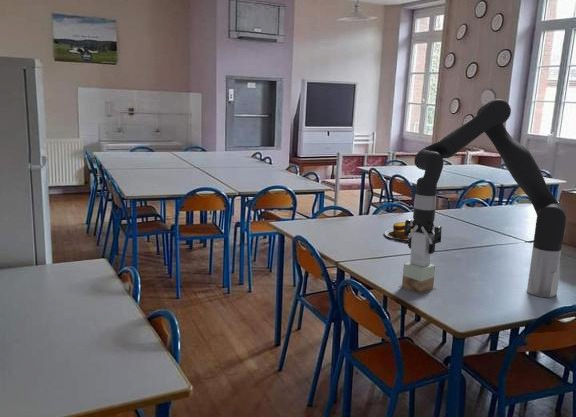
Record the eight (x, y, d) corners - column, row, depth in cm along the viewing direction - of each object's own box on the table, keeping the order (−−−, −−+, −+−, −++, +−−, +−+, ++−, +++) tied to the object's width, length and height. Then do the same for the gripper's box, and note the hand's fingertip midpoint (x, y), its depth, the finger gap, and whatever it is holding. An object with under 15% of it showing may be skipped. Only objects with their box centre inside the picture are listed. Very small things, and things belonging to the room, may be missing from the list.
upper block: (434, 277, 195) (435, 265, 194) (421, 281, 190) (422, 269, 189) (415, 271, 201) (416, 259, 200) (402, 275, 196) (403, 263, 195)
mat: (436, 289, 196) (436, 288, 196) (420, 295, 189) (420, 294, 189) (414, 282, 203) (414, 281, 203) (397, 287, 197) (398, 286, 197)
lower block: (433, 288, 196) (434, 277, 195) (420, 293, 191) (421, 281, 190) (414, 282, 202) (415, 271, 201) (401, 286, 197) (402, 275, 196)
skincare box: (430, 265, 194) (433, 232, 191) (423, 267, 191) (426, 234, 188) (415, 261, 198) (418, 229, 196) (408, 263, 195) (411, 231, 192)
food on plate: (428, 247, 253) (429, 233, 252) (377, 239, 264) (378, 226, 262) (439, 235, 275) (440, 222, 274) (391, 228, 286) (392, 216, 285)
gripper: (448, 209, 187) (443, 253, 190) (414, 202, 198) (410, 244, 201) (435, 211, 182) (431, 257, 186) (401, 204, 193) (398, 247, 196)
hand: (420, 250), depth 193 cm, fingers open, 8 cm apart
